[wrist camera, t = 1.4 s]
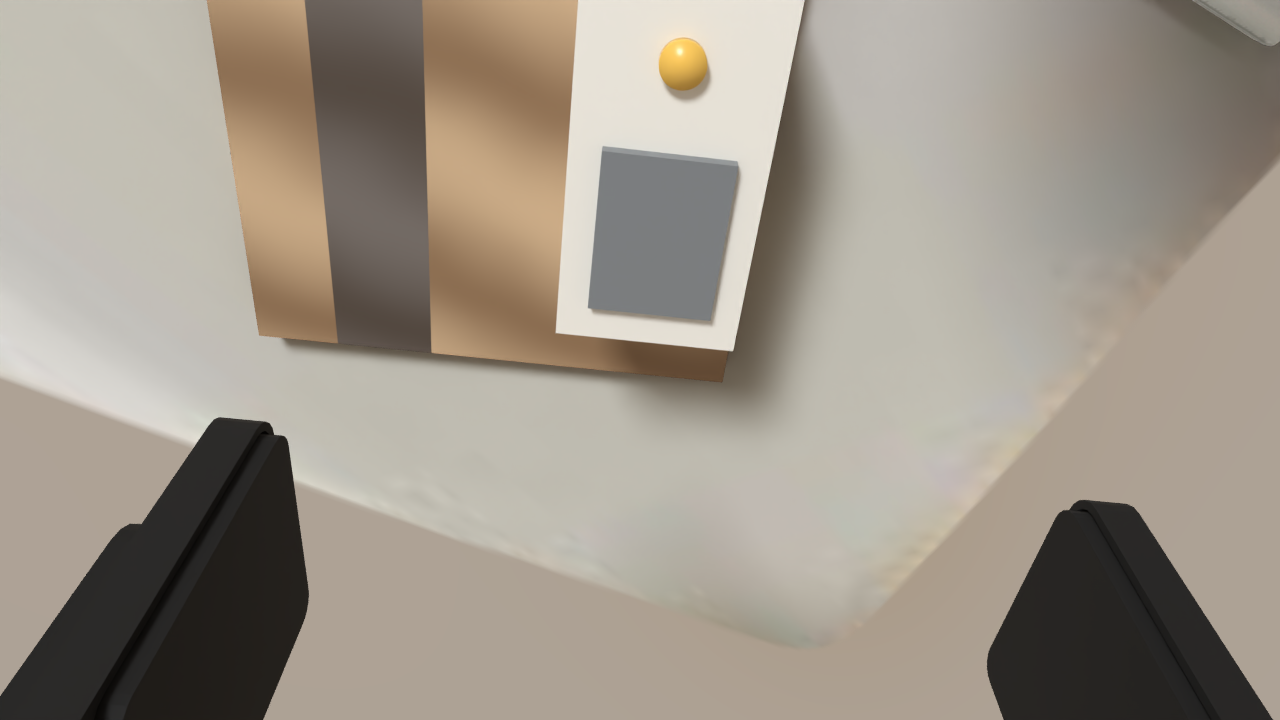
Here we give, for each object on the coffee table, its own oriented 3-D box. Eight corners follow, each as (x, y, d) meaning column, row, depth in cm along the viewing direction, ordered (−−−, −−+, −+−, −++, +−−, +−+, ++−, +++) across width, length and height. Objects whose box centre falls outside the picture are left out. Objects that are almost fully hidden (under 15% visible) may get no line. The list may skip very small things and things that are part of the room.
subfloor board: (167, -385, 19) (145, -392, 18) (849, -292, 20) (857, -294, 19) (270, 319, 29) (259, 335, 29) (720, 365, 30) (722, 382, 29)
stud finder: (597, -93, 21) (580, -53, 17) (781, -70, 22) (812, -24, 17) (572, 242, 26) (554, 339, 22) (721, 258, 27) (733, 357, 22)
